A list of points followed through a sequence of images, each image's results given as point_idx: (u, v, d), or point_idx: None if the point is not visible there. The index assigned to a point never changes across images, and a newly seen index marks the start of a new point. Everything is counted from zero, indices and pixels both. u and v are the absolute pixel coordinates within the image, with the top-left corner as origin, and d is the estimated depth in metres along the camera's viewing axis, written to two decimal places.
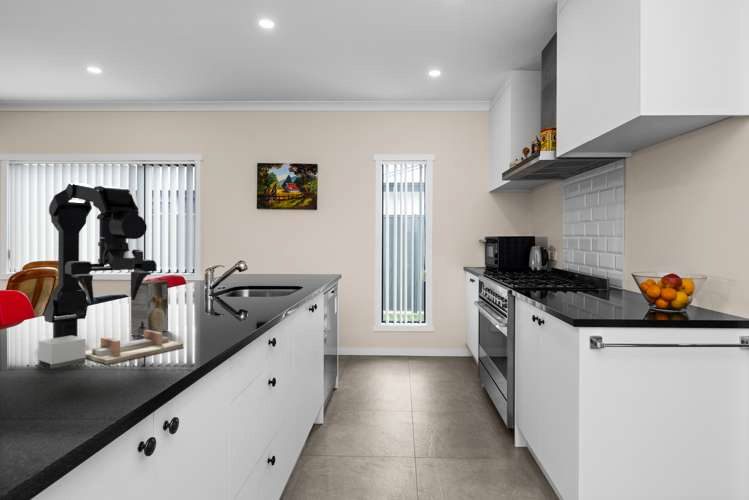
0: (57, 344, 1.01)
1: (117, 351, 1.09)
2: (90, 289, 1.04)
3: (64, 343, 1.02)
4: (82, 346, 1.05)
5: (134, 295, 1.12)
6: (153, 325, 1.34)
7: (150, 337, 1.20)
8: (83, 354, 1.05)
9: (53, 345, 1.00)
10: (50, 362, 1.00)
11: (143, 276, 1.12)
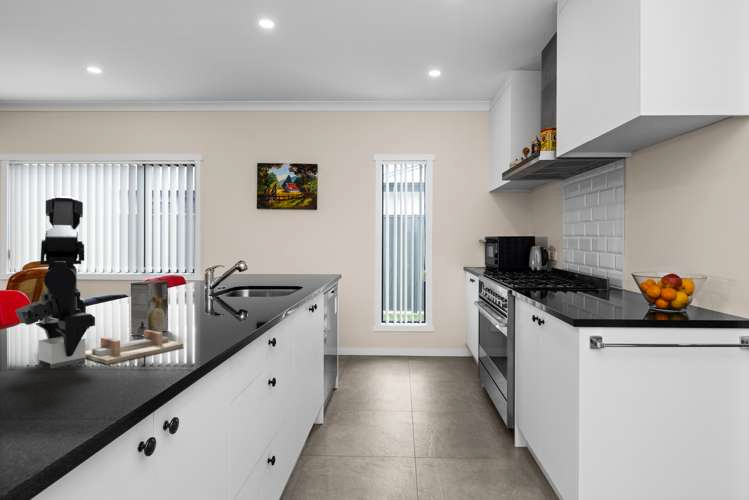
0: (57, 344, 1.01)
1: (117, 351, 1.09)
2: (48, 337, 1.05)
3: None
4: (82, 346, 1.05)
5: (65, 351, 1.02)
6: (153, 325, 1.34)
7: (150, 337, 1.20)
8: (83, 354, 1.05)
9: (53, 345, 1.00)
10: (50, 362, 1.00)
11: (61, 332, 1.00)
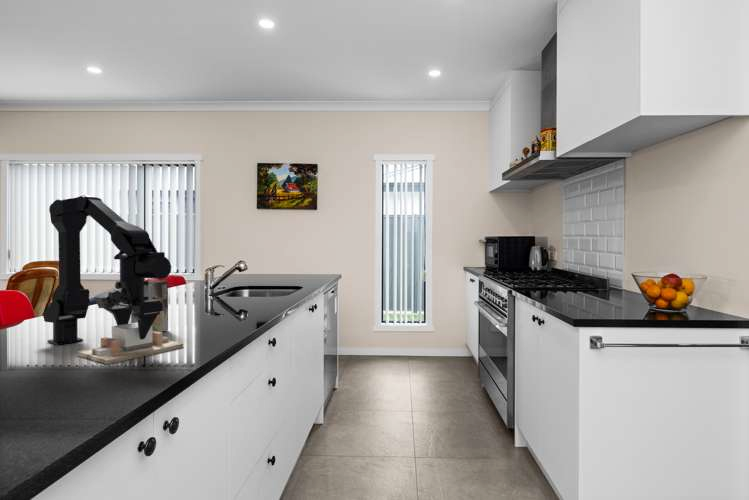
0: (130, 329, 1.12)
1: (117, 351, 1.09)
2: (117, 321, 1.17)
3: (135, 328, 1.13)
4: (150, 331, 1.16)
5: (139, 335, 1.12)
6: (153, 325, 1.34)
7: None
8: (150, 339, 1.16)
9: (127, 330, 1.11)
10: (124, 345, 1.11)
11: (137, 317, 1.10)
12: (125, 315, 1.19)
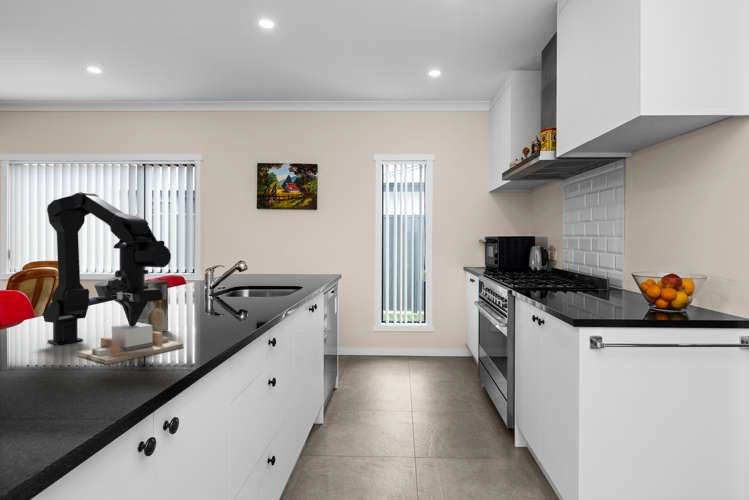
0: (130, 329, 1.12)
1: (117, 351, 1.09)
2: (126, 312, 1.15)
3: (135, 328, 1.13)
4: (150, 331, 1.16)
5: (130, 321, 1.15)
6: (153, 325, 1.34)
7: None
8: (150, 339, 1.16)
9: (127, 330, 1.11)
10: (124, 345, 1.11)
11: (127, 304, 1.12)
12: None
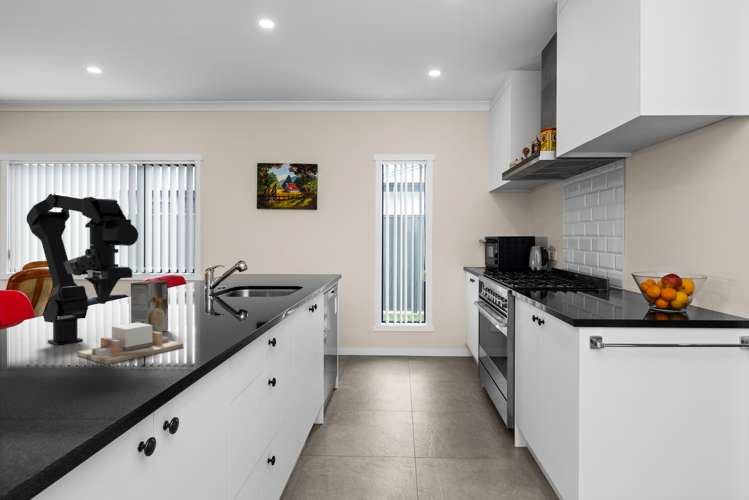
0: (130, 329, 1.12)
1: (117, 351, 1.09)
2: (96, 290, 1.17)
3: (135, 328, 1.13)
4: (150, 331, 1.16)
5: (100, 299, 1.17)
6: (153, 325, 1.34)
7: None
8: (150, 339, 1.16)
9: (127, 330, 1.11)
10: (124, 345, 1.11)
11: (97, 282, 1.14)
12: None
